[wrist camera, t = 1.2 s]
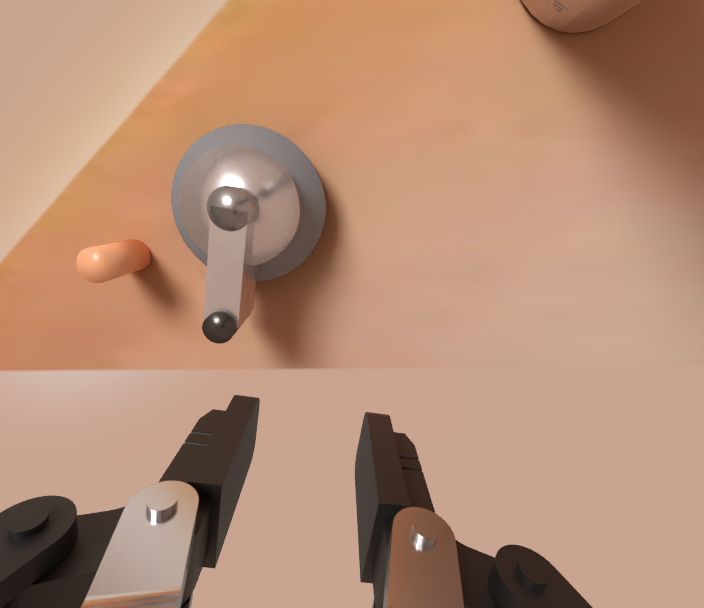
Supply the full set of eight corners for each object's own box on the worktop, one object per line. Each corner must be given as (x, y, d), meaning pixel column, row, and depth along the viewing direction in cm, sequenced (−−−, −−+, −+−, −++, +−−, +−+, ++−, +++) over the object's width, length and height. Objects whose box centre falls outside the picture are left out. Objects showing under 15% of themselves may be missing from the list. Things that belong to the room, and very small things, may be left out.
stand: (256, 96, 24) (237, 73, 19) (354, 214, 26) (357, 217, 22) (106, 246, 26) (60, 256, 22) (208, 343, 28) (185, 368, 24)
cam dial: (195, 139, 22) (160, 125, 18) (308, 160, 23) (300, 150, 18) (187, 311, 25) (155, 334, 21) (287, 326, 26) (276, 351, 21)
